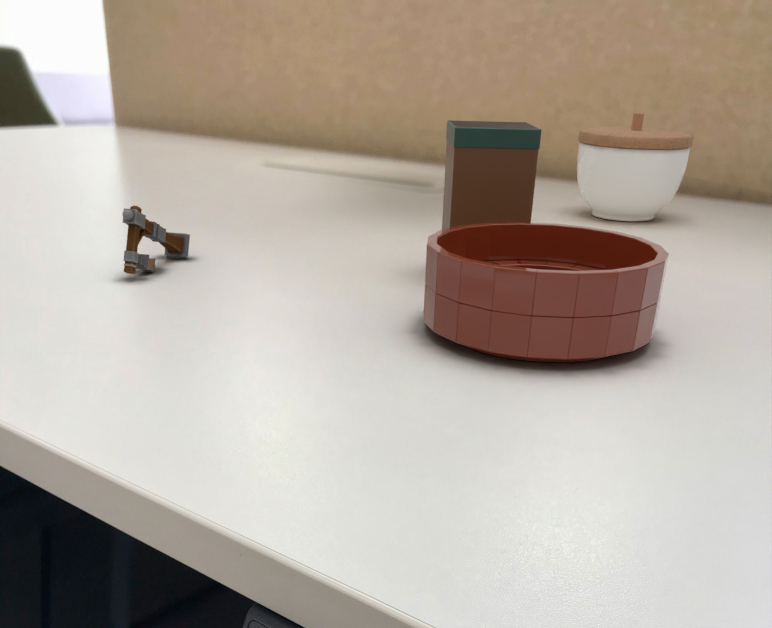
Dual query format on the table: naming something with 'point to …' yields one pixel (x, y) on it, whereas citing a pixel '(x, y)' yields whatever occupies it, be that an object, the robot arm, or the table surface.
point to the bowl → (543, 290)
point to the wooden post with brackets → (141, 227)
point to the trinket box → (630, 169)
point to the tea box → (489, 172)
